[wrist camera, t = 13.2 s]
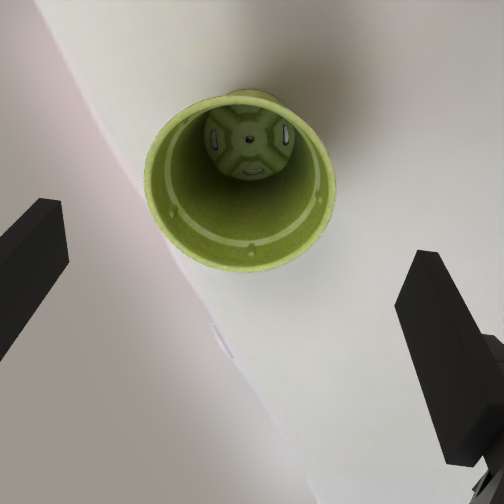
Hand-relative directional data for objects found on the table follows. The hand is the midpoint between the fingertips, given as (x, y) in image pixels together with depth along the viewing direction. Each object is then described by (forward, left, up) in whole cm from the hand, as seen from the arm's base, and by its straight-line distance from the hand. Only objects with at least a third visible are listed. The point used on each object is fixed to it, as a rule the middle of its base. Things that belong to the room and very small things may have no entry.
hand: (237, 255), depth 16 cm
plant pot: (0, 0, -15) cm, 15 cm away
